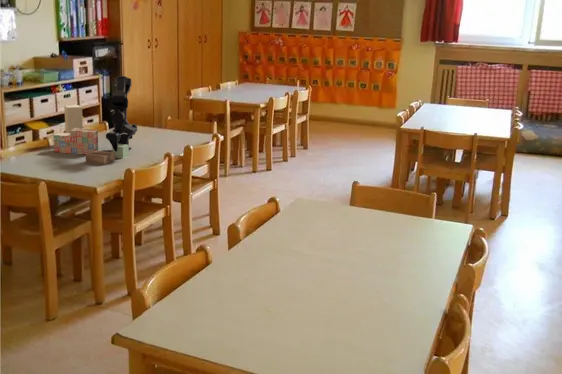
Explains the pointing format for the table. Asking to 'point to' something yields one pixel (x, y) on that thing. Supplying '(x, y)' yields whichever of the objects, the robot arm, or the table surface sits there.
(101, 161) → the walnut base
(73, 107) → the beige wooden block
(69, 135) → the stack of blocks
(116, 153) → the green cube
